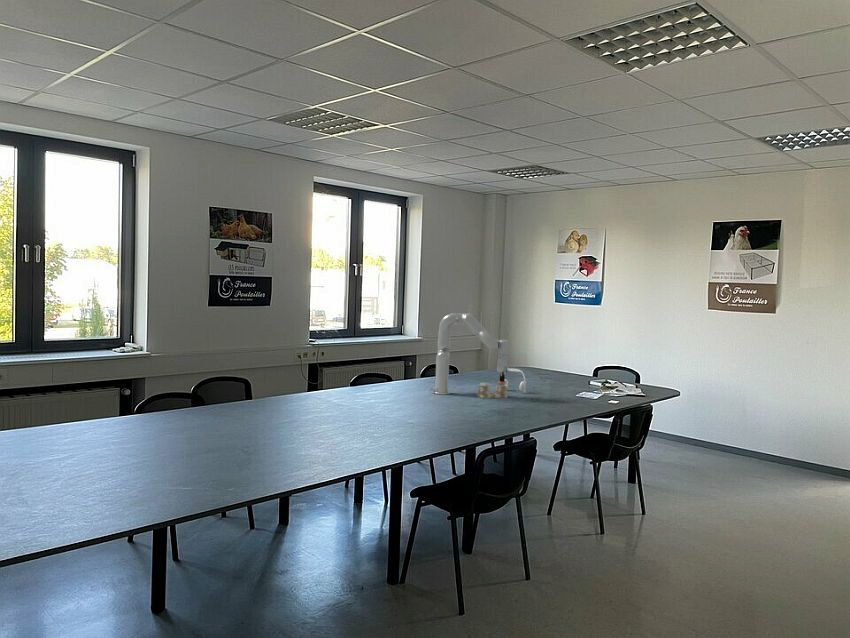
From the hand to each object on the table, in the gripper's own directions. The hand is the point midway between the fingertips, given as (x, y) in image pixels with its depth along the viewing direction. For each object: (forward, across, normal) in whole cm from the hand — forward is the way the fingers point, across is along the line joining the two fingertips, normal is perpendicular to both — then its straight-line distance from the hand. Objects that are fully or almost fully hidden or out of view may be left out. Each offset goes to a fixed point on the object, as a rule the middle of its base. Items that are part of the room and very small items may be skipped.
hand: (502, 381), depth 468 cm
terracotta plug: (+8, 0, 0) cm, 8 cm away
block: (+11, 0, -7) cm, 13 cm away
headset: (+12, -20, +19) cm, 30 cm away
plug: (+9, 0, -14) cm, 17 cm away
